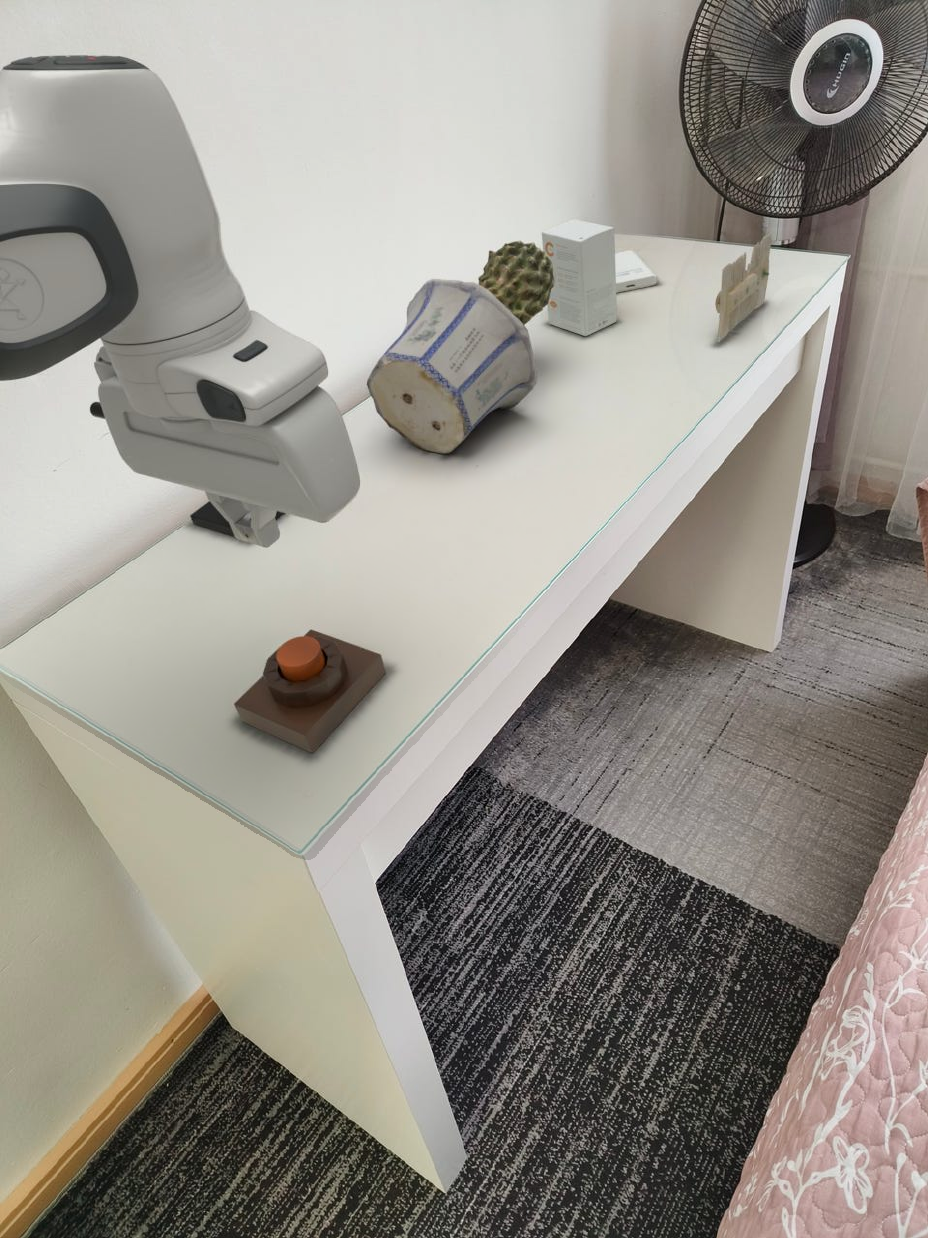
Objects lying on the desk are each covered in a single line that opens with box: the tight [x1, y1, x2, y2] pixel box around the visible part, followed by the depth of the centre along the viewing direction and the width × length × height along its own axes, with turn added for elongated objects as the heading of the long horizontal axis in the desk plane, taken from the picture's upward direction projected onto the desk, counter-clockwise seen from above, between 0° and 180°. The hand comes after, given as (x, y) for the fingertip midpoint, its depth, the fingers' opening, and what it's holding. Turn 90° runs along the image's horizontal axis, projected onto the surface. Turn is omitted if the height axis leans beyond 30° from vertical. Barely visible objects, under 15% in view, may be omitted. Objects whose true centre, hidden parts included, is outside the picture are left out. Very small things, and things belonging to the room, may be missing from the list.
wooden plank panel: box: [714, 233, 772, 343], centre depth 112 cm, size 15×2×10 cm, turn 144°
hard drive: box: [615, 249, 658, 294], centre depth 133 cm, size 2×8×12 cm
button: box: [276, 635, 325, 682], centre depth 69 cm, size 4×4×2 cm
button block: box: [233, 629, 387, 754], centre depth 71 cm, size 10×8×4 cm
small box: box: [541, 218, 618, 337], centre depth 118 cm, size 8×6×13 cm
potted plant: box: [366, 240, 555, 455], centre depth 102 cm, size 18×18×30 cm
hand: (259, 539), depth 61 cm, fingers closed
